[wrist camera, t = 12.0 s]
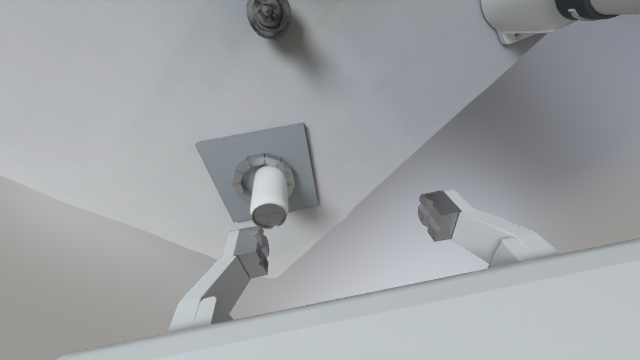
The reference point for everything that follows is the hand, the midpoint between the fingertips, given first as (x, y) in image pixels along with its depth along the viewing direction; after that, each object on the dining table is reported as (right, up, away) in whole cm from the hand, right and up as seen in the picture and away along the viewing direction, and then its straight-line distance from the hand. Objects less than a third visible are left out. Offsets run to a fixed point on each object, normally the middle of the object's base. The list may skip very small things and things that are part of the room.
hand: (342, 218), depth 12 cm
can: (-11, +3, +36) cm, 38 cm away
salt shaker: (-8, +26, +22) cm, 35 cm away
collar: (-13, +2, +36) cm, 38 cm away
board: (-13, +3, +37) cm, 39 cm away
